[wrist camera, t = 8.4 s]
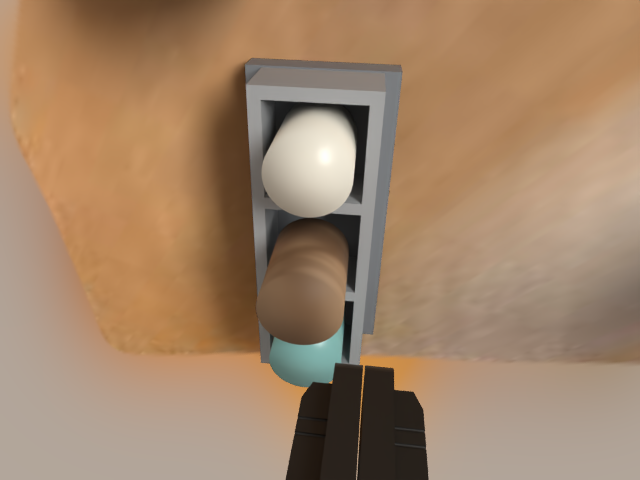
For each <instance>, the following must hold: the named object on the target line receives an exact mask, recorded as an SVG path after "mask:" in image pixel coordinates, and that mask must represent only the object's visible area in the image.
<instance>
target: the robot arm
mask: <svg viewBox="0 0 640 480" xmlns="http://www.w3.org/2000/svg"><path fill="white" fill-rule="evenodd" d="M362 372H363V365H354V364H343V363H335V367H334V374H333V383H332V384H330V383H320V382H312V384H311V385H310V386H309V388H308V389H307V391H306V392H305V393H304V395H303V396H302V398H301V403H300V408H299V413H298V420H297V424H296V429H295V435H294V440H293V444H292V449H291V455H290V460H289V465H288V470H287V475H286V480H356V470H357V453H358V437H359V421H360V420H359V419H360V404H361V389H362ZM357 480H428V467H427V454H426V441H425V427H424V414H423V409H422V407H421V405H420V403H419V401H418V399H417V398H416V396H415V394H414V392H409V391H398V390H394V369H393V368H385V367H375V366H365V375H364V387H363V398H362V411H361V425H360V441H359V458H358V476H357Z"/></svg>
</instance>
